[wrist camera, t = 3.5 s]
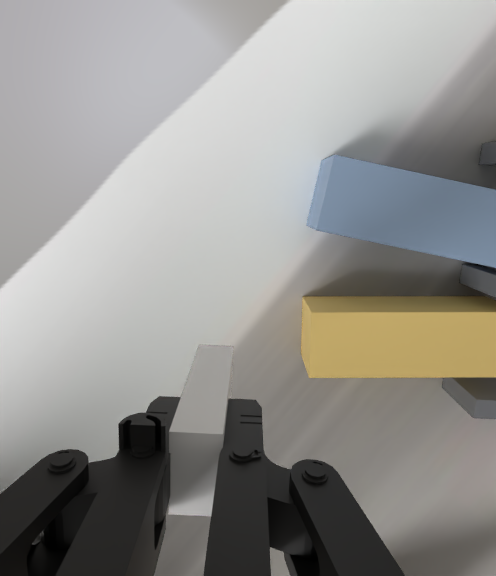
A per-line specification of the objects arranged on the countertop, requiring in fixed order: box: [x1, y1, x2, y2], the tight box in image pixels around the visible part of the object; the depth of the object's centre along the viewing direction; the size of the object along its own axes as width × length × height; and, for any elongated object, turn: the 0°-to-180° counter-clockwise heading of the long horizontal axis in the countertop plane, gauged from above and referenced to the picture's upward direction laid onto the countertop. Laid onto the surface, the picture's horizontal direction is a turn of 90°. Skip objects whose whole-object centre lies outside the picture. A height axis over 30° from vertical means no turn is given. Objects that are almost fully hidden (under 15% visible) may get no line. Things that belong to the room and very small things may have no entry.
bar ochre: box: [301, 296, 496, 378], centre depth 26 cm, size 12×4×4 cm, turn 90°
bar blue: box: [307, 155, 496, 268], centre depth 24 cm, size 12×4×4 cm, turn 78°
